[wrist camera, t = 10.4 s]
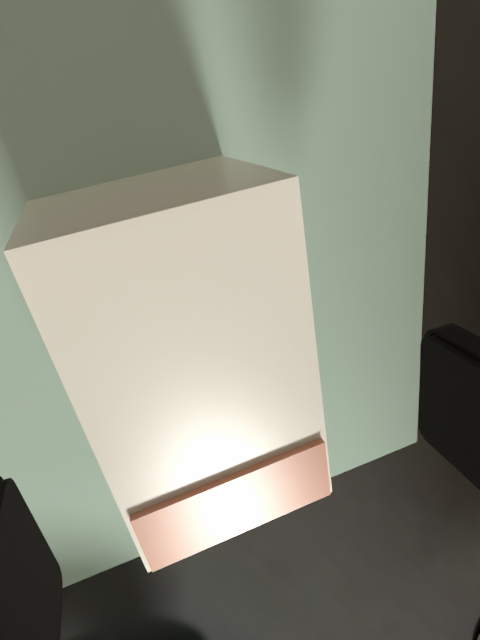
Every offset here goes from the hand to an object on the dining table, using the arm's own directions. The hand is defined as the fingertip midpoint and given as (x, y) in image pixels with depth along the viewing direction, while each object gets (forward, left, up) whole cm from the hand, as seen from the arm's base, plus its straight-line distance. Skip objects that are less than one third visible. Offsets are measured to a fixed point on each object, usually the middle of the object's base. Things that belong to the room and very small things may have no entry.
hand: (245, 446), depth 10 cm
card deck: (+1, 0, -6) cm, 6 cm away
